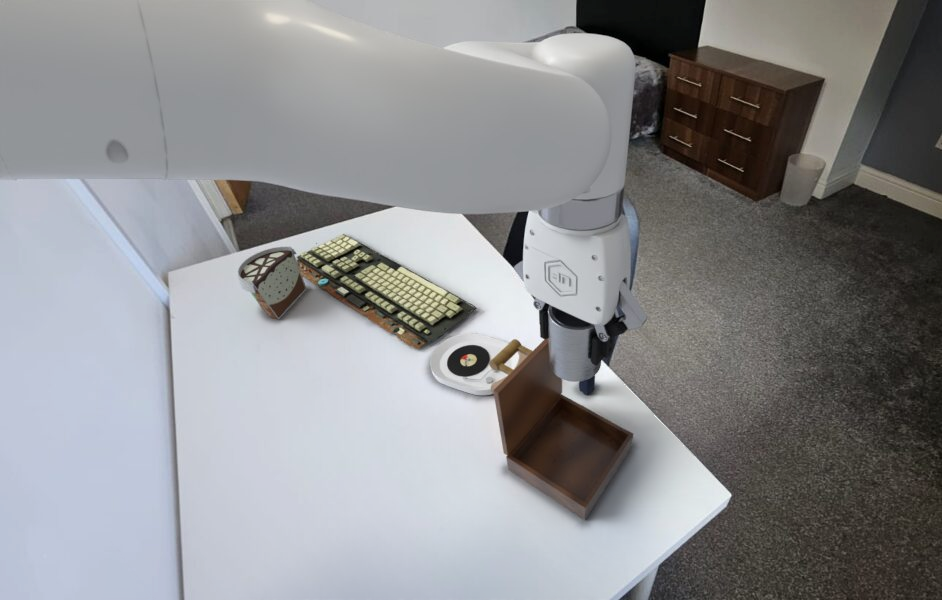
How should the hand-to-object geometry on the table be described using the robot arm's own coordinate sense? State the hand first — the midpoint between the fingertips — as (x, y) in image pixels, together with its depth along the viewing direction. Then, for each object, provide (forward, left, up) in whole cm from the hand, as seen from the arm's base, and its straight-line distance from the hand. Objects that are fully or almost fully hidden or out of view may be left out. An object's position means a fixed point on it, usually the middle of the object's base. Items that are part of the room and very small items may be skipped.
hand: (575, 342), depth 52 cm
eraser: (+13, +6, -26) cm, 29 cm away
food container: (-3, +69, -26) cm, 73 cm away
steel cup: (0, 0, -3) cm, 3 cm away
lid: (+1, +7, -14) cm, 16 cm away
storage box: (+1, +1, -25) cm, 25 cm away
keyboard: (+11, +57, -26) cm, 63 cm away
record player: (+7, +23, -26) cm, 35 cm away
